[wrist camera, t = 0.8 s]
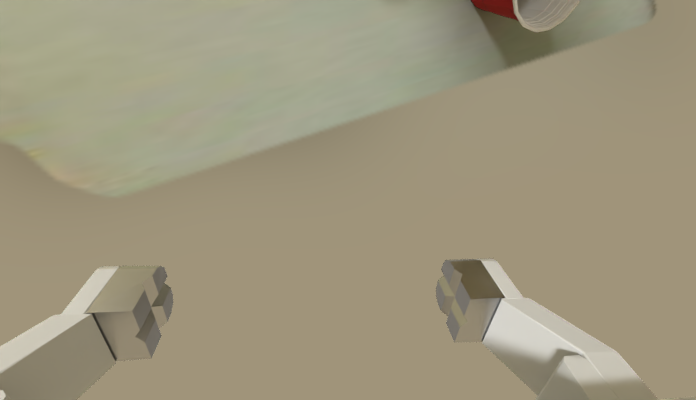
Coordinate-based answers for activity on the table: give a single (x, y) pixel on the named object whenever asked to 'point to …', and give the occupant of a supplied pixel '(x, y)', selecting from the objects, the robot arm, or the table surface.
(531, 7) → the plastic cup
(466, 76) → the table surface
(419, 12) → the table surface
